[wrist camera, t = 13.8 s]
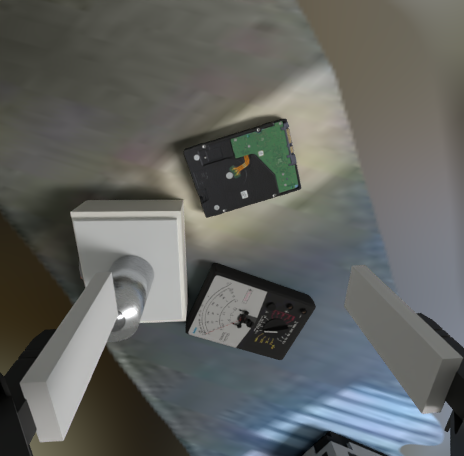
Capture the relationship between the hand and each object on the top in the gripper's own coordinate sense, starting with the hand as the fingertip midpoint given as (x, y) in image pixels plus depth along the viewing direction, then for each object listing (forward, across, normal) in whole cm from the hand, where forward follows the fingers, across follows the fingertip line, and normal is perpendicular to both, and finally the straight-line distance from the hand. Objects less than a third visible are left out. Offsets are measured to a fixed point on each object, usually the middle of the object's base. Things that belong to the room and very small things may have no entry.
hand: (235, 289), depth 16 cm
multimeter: (+29, +6, -23) cm, 38 cm away
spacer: (+22, -12, -12) cm, 28 cm away
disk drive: (+29, +4, +2) cm, 30 cm away
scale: (+29, -12, -12) cm, 33 cm away
